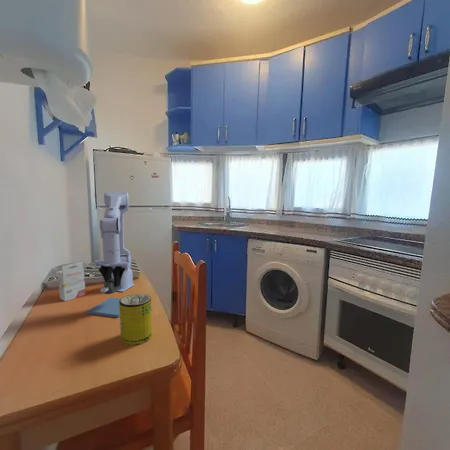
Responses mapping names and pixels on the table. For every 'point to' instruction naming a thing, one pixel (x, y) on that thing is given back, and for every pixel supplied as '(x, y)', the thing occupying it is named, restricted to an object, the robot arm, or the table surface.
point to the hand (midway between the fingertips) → (113, 285)
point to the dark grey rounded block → (110, 287)
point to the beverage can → (135, 319)
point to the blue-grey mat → (107, 308)
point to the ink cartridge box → (71, 282)
